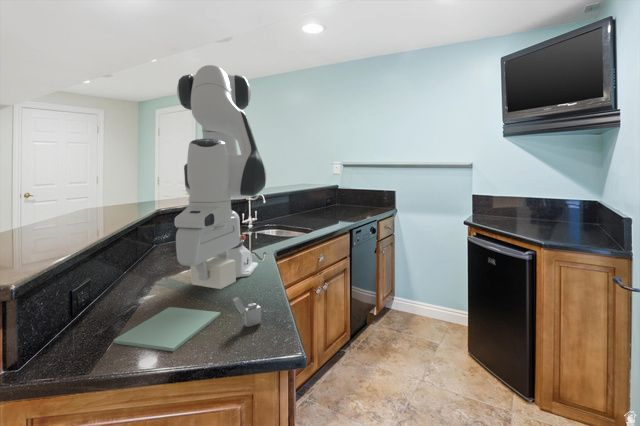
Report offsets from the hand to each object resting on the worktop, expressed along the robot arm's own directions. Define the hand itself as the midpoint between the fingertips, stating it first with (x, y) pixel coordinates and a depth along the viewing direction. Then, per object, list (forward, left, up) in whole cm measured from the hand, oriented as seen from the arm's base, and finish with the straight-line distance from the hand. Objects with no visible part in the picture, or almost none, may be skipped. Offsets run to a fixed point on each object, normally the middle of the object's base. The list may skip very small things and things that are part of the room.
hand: (213, 274), depth 82 cm
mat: (-4, -15, -16) cm, 22 cm away
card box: (0, 0, -2) cm, 2 cm away
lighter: (-10, +3, -16) cm, 19 cm away
